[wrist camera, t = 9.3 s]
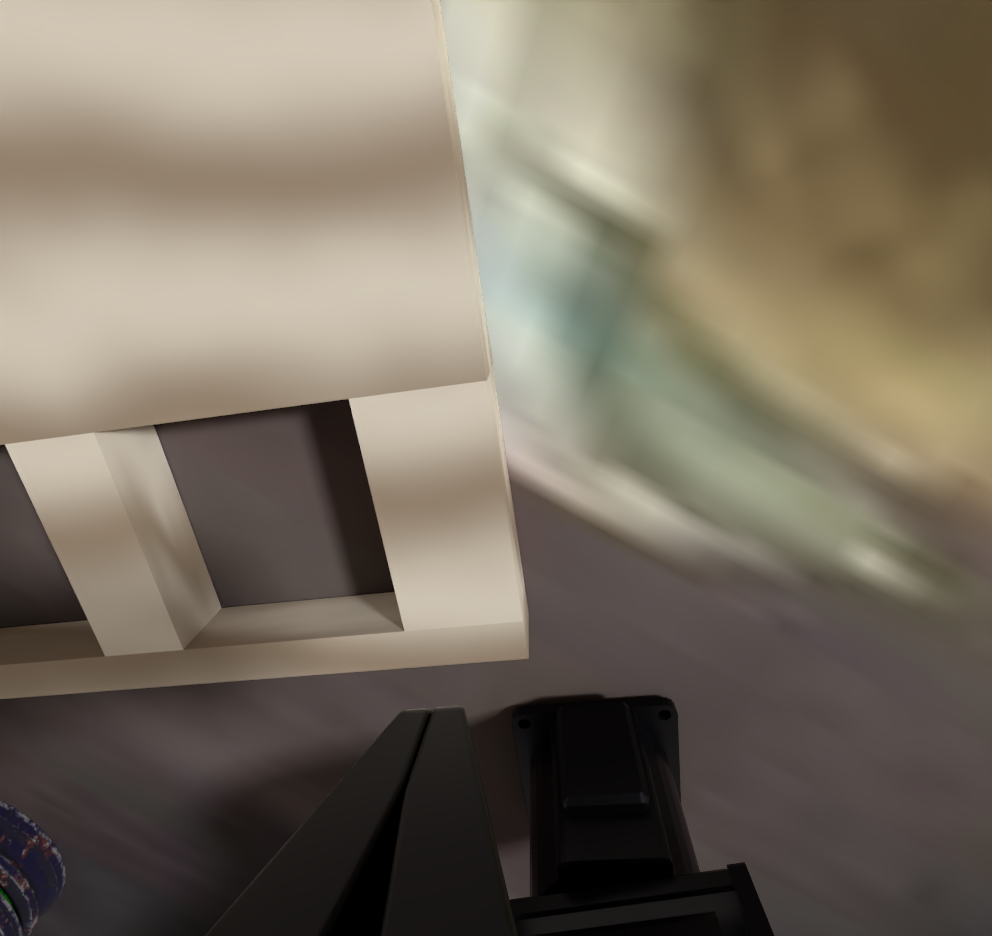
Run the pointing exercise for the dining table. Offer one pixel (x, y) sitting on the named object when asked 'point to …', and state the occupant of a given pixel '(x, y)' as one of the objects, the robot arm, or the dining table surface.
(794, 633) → the dining table surface
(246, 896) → the robot arm
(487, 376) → the trap deck
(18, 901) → the storage jar
